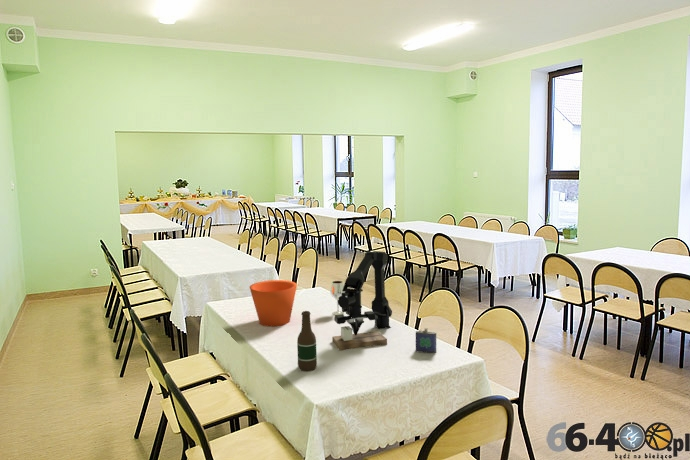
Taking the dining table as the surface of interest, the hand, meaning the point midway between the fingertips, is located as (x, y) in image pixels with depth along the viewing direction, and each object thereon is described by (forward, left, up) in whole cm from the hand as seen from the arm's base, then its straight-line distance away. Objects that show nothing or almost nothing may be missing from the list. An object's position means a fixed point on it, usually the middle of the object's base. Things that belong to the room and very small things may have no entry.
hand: (355, 335), depth 238 cm
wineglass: (-6, -48, -4) cm, 49 cm away
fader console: (-2, 0, -4) cm, 5 cm away
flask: (-27, +20, -4) cm, 33 cm away
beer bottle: (+27, +20, -4) cm, 34 cm away
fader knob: (+4, 0, -1) cm, 4 cm away
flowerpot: (+30, -46, -4) cm, 55 cm away
